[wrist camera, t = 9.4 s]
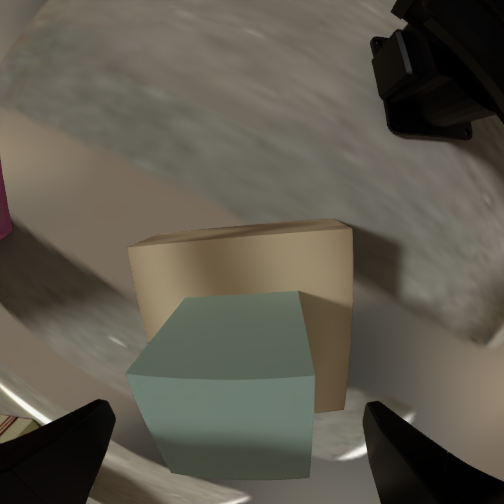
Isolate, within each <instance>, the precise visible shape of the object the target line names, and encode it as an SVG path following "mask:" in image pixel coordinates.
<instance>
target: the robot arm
mask: <svg viewBox="0 0 504 504" xmlns="http://www.w3.org/2000/svg"><path fill="white" fill-rule="evenodd" d="M391 13H392V14H394V15H395V16H397V17H398V18H399V19H404V20H405V21H406V22H408V24H407V25H406V26H405V28H404V29H403V30H401V29H397V30H396V31H395V32H394V33H393V34H392V35H391V36H390V38H385V37H373V38H372V40H371V42H370V46H371V49H372V53H373V57H374V58H373V59H372V65H373V69H374V74H375V78H376V83H377V88H378V93H379V96H380V98H381V99H382V100H383V102H384V108H385V114H386V120H387V126H388V129H389V130H390V131H391V132H392V133H395V134H407V135H421V136H432V137H442V138H451V139H459V140H470V139H471V138H472V127H471V121H474V120H477V119H481V118H485V117H488V116H492V115H496V114H497V116H498V117H499V118H500V120H501V121H502V123H503V124H504V0H397V1H396V3H395V5H394V6H393V8H392V10H391ZM376 42H378V43H379V44H380V45H381V46H379V45H377V44H376ZM394 122H397V123H398V125H399V128H396V127H395V126H394ZM465 131H466V133H467V135H466V134H465ZM115 422H116V417H115V414H114V413H113V410H112V408H111V406H110V404H109V402H108V401H106V400H101V399H97V400H95V401H93V402H91V403H89V404H87V405H85V406H83V407H81V408H79V409H77V410H75V411H73V412H71V413H69V414H67V415H65V416H63V417H61V418H59V419H57V420H55V421H52V422H50V423H48V424H46V425H44V426H42V427H40V428H38V429H35V430H33V431H31V432H29V433H26V434H24V435H22V436H20V437H17V438H15V439H12V440H9V441H6V442H3V443H0V504H86V501H87V499H88V496H89V494H90V491H91V489H92V486H93V483H94V481H95V478H96V476H97V474H98V471H99V469H100V466H101V464H102V461H103V459H104V457H105V454H106V451H107V448H108V445H109V442H110V438H111V435H112V432H113V428H114V425H115ZM363 429H364V435H365V441H366V447H367V453H368V459H369V464H370V467H371V470H372V474H373V477H374V480H375V484H376V488H377V491H378V494H379V498H380V502H381V504H504V481H502V480H499V479H497V478H495V477H493V476H490V475H488V474H486V473H484V472H482V471H480V470H478V469H476V468H474V467H472V466H470V465H468V464H467V463H465V462H463V461H462V460H460V459H459V458H457V457H456V456H454V455H453V454H451V453H450V452H448V453H447V450H445V449H444V448H442V447H441V446H439V445H438V444H437V443H435V442H434V441H433V440H431V439H430V438H428V437H427V436H426V435H424V434H423V433H421V432H420V431H419V430H417V429H416V428H414V427H413V426H412V425H410V424H409V423H408V422H406V421H405V420H404V419H402V418H401V417H400V416H398V415H397V414H396V413H394V412H393V411H392V410H390V409H389V408H388V407H386V406H385V405H384V404H382V403H381V402H380V401H374V402H368V403H367V404H366V406H365V411H364V416H363Z"/></svg>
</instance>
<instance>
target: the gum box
mask: <svg viewBox="0 0 504 504" xmlns="http://www.w3.org/2000/svg"><path fill="white" fill-rule="evenodd" d="M12 230H13V227H12V223H11V218H10V214H9V209H8V204H7V197H6V192H5V186H4V180H3V175H2V168H1V160H0V240H1V239H2V238H4V237H5V236H6V235H8V234H9V233H10V232H11V231H12Z"/></svg>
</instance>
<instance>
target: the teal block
mask: <svg viewBox="0 0 504 504" xmlns="http://www.w3.org/2000/svg"><path fill="white" fill-rule="evenodd" d="M125 374H126V377H127V380H128V382H129V385H130V387H131V390H132V392H133V395H134V397H135V400H136V402H137V404H138V407H139V409H140V411H141V413H142V416H143V418H144V420H145V422H146V424H147V427H148V429H149V431H150V433H151V435H152V437H153V439H154V441H155V443H156V445H157V447H158V449H159V451H160V453H161V454H162V456H163V458H164V460H165V462H166V464H167V466H168V467H169V469H170V471H171V473H175V474H182V475H189V476H197V477H206V478H218V479H232V480H287V479H302V478H309V476H310V465H311V452H312V437H313V418H314V393H315V373H314V368H313V362H312V357H311V352H310V347H309V342H308V337H307V332H306V327H305V322H304V318H303V313H302V308H301V303H300V299H299V294H298V290H297V291H285V292H271V293H257V294H241V295H223V296H202V297H185V298H184V299H183V301H182V302H181V303H180V304H179V306H178V307H177V308H176V309H175V311H174V312H173V313H172V314H171V316H170V317H169V318H168V320H167V321H166V322H165V323H164V325H163V326H162V327H161V328H160V330H159V331H158V332H157V333H156V335H155V336H154V337H153V339H152V340H151V341H150V342H149V344H148V345H147V346H146V347H145V349H144V350H143V351H142V353H141V354H140V355H139V356H138V358H137V359H136V360H135V362H134V363H133V364H132V366H131V367H130V368H129V369H128V371H127V372H126V373H125Z"/></svg>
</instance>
